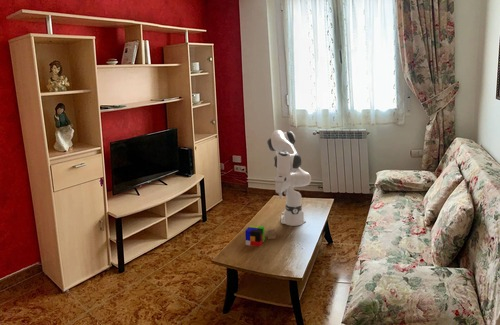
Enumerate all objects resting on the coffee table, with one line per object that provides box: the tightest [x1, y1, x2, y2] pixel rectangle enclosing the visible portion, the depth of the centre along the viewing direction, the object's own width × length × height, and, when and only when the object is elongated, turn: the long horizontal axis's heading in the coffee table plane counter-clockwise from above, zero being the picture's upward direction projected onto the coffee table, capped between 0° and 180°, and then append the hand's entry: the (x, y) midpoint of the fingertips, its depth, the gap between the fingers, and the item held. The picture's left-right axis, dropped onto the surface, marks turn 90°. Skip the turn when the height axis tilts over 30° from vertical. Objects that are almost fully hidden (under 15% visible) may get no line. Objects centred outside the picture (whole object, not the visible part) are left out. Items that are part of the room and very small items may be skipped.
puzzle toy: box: [244, 224, 265, 247], centre depth 277 cm, size 10×10×10 cm
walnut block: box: [266, 228, 276, 240], centre depth 286 cm, size 5×5×5 cm
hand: (283, 196), depth 278 cm, fingers open, 8 cm apart
